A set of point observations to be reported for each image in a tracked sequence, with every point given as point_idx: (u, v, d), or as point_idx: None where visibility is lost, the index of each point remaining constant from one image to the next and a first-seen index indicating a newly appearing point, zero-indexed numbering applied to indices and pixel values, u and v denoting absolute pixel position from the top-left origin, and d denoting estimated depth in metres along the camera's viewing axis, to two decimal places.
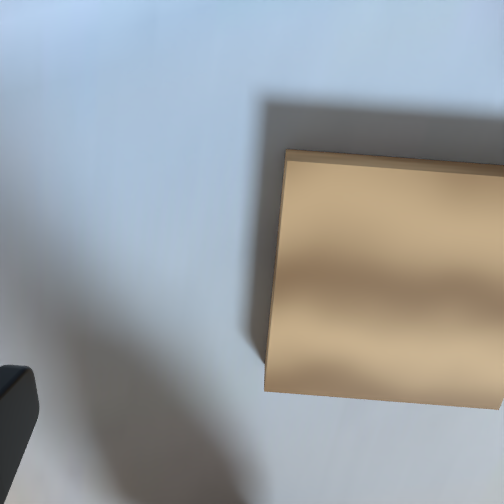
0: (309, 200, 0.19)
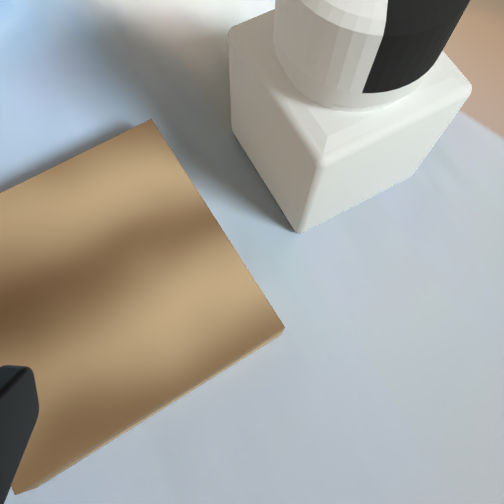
0: None
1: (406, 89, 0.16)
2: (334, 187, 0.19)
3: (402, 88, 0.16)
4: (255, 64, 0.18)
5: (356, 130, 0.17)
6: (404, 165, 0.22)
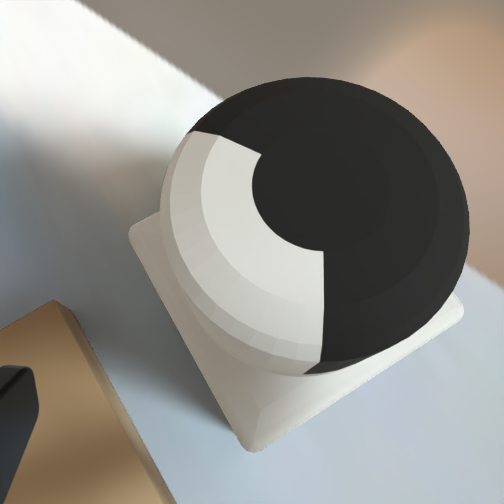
0: None
1: None
2: None
3: None
4: (161, 287, 0.13)
5: (302, 396, 0.12)
6: None
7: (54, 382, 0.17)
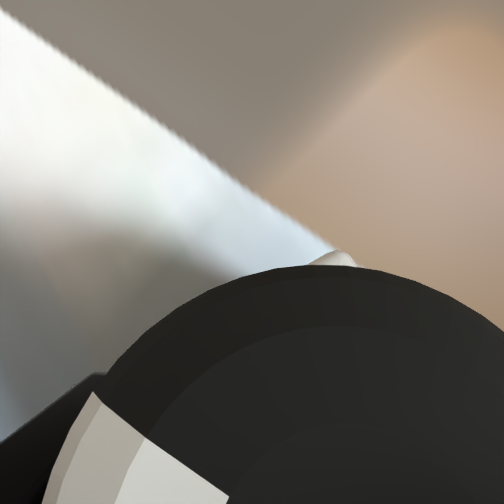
0: None
1: None
2: None
3: None
4: None
5: None
6: None
7: None
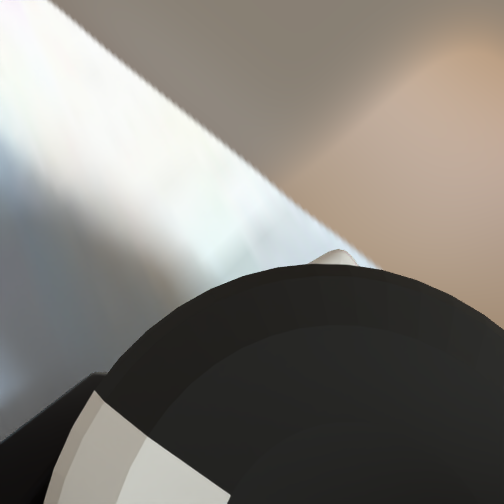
0: None
1: None
2: None
3: None
4: None
5: None
6: None
7: None
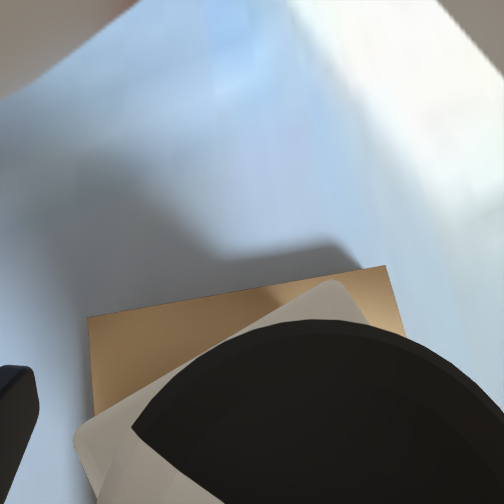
0: (119, 353, 0.18)
1: None
2: None
3: None
4: None
5: None
6: None
7: None
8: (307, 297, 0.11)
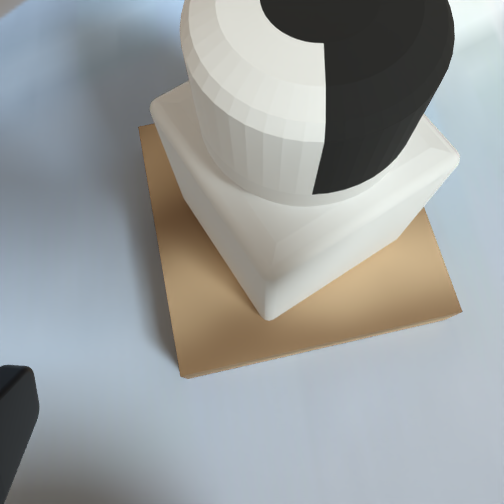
0: None
1: (370, 181, 0.12)
2: (297, 285, 0.16)
3: (365, 182, 0.12)
4: (182, 149, 0.14)
5: (313, 231, 0.13)
6: (386, 236, 0.18)
7: None
8: None
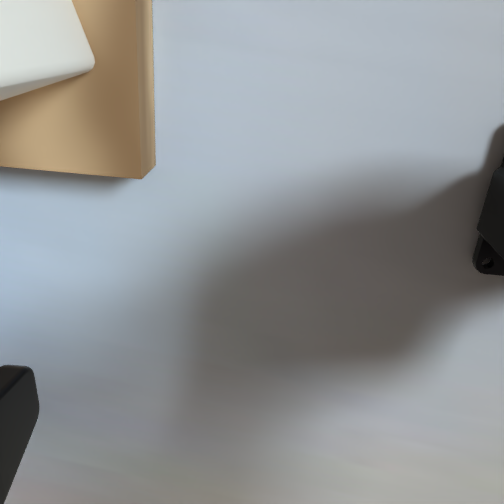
0: None
1: None
2: (17, 30, 0.12)
3: None
4: None
5: None
6: None
7: None
8: None
